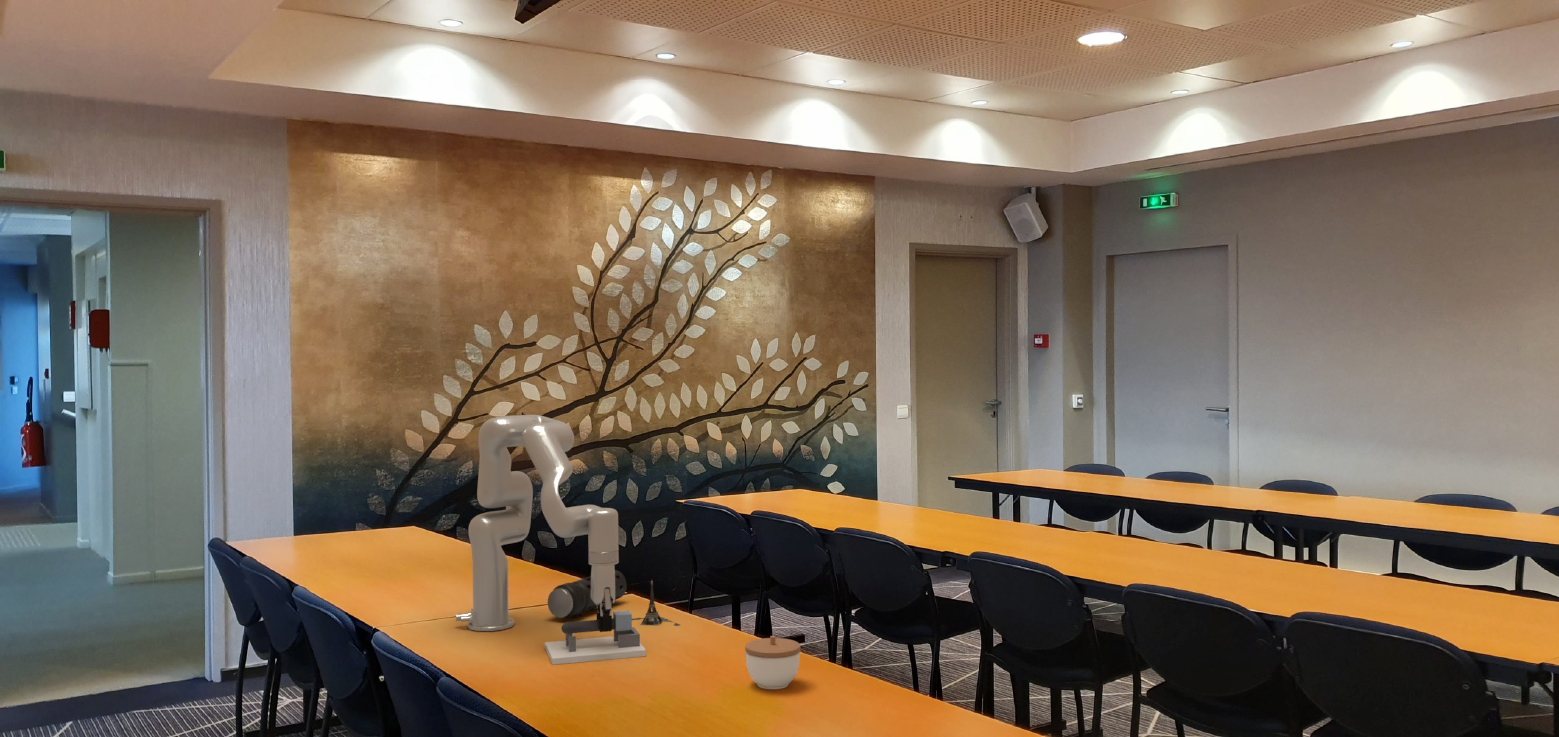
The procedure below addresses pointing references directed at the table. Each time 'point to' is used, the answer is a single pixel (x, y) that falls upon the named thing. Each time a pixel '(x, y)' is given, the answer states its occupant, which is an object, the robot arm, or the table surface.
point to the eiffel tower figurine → (653, 614)
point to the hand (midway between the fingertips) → (604, 628)
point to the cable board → (596, 648)
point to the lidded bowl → (772, 661)
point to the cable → (619, 623)
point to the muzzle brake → (579, 597)
